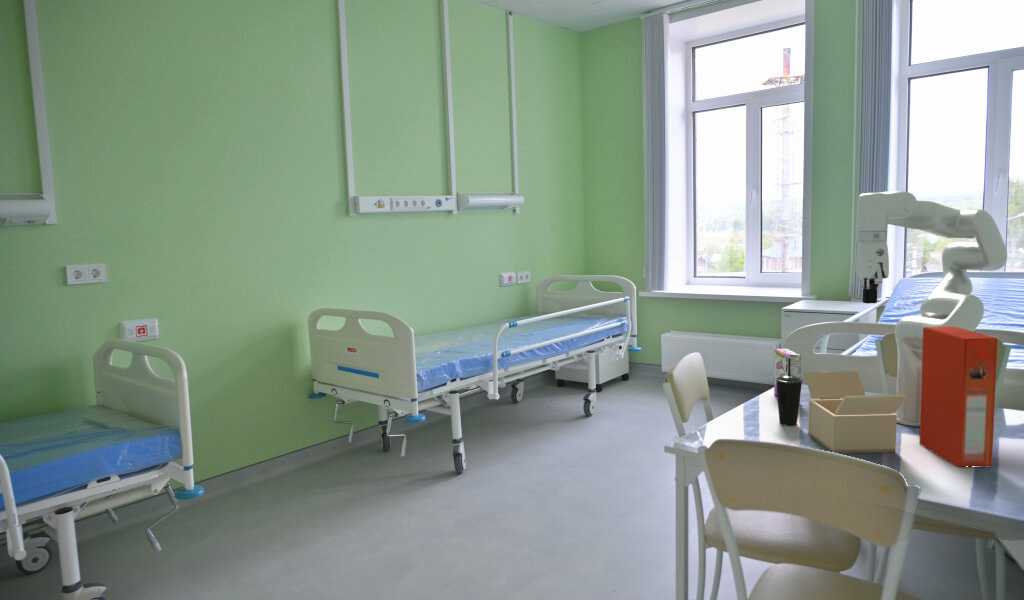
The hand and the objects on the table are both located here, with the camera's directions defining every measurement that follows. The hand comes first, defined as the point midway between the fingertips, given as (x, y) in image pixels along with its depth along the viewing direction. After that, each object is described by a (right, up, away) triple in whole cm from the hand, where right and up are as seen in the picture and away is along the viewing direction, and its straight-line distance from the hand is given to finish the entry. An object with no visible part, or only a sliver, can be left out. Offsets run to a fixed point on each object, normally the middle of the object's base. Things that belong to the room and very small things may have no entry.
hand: (869, 302), depth 188 cm
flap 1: (-8, -23, +3) cm, 25 cm away
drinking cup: (-17, -37, +13) cm, 43 cm away
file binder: (+12, -39, -17) cm, 44 cm away
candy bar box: (-7, -33, +40) cm, 52 cm away
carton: (-8, -38, -5) cm, 39 cm away
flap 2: (-9, -26, -17) cm, 32 cm away
